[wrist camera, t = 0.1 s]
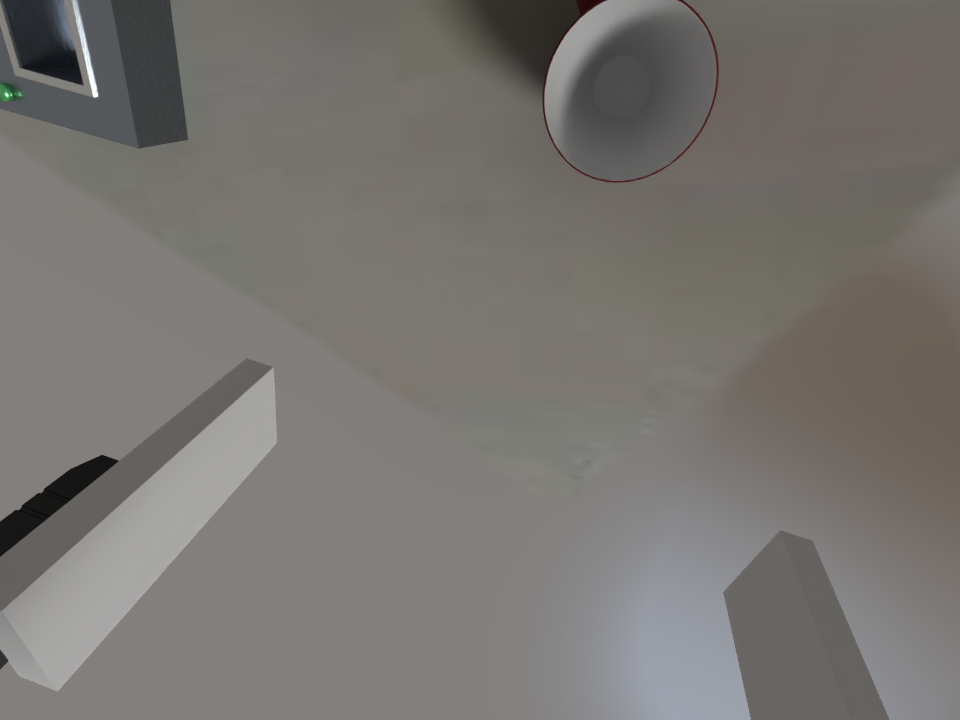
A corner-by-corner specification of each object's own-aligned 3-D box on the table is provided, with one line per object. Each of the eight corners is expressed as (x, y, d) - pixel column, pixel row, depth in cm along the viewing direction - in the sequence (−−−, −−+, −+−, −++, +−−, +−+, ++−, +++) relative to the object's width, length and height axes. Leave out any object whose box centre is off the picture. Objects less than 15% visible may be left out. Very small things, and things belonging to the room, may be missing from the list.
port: (12, -83, 34) (-83, -106, 29) (163, -45, 33) (90, -63, 28) (60, 103, 40) (-11, 108, 36) (187, 139, 40) (131, 149, 35)
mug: (516, 34, 31) (481, 22, 22) (633, -69, 27) (644, -128, 19) (596, 177, 34) (592, 213, 26) (710, 104, 30) (748, 119, 22)
